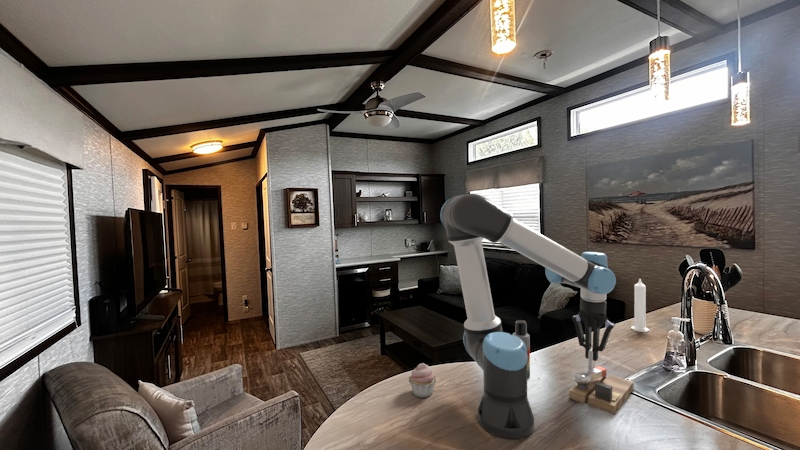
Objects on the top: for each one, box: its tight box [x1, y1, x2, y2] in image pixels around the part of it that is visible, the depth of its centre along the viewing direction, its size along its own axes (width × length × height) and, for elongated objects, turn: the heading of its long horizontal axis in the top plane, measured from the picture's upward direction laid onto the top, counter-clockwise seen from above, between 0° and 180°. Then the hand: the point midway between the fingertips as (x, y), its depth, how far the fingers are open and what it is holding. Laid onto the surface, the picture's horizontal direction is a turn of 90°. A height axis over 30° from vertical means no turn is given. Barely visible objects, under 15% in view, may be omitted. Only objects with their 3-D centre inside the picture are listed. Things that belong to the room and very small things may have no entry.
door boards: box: [568, 374, 635, 415], centre depth 110 cm, size 20×12×6 cm, turn 133°
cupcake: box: [408, 362, 438, 399], centre depth 113 cm, size 9×9×10 cm
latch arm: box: [574, 365, 607, 385], centre depth 112 cm, size 13×4×2 cm, turn 119°
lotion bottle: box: [512, 319, 531, 380], centre depth 123 cm, size 6×6×20 cm
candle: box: [631, 278, 650, 333], centre depth 167 cm, size 7×7×25 cm
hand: (591, 368), depth 115 cm, fingers closed
